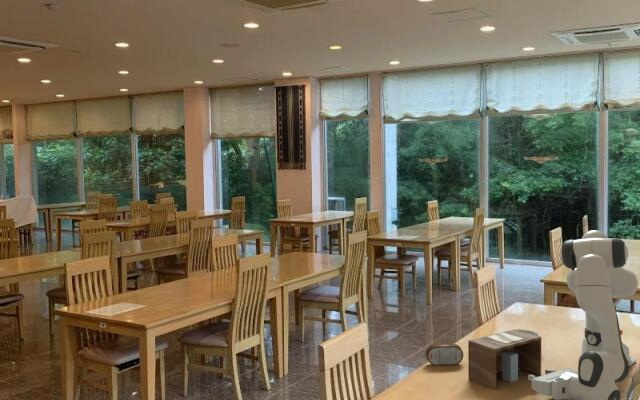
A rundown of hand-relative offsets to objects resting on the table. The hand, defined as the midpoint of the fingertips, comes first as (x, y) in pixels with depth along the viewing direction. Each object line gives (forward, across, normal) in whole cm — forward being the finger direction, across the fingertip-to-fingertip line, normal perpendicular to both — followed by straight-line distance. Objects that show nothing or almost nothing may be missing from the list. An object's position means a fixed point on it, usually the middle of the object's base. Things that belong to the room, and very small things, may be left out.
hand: (537, 374), depth 227 cm
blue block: (+13, 0, +6) cm, 14 cm away
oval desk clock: (+39, +8, +6) cm, 40 cm away
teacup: (+32, -32, +6) cm, 46 cm away
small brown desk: (+15, 0, +6) cm, 16 cm away
